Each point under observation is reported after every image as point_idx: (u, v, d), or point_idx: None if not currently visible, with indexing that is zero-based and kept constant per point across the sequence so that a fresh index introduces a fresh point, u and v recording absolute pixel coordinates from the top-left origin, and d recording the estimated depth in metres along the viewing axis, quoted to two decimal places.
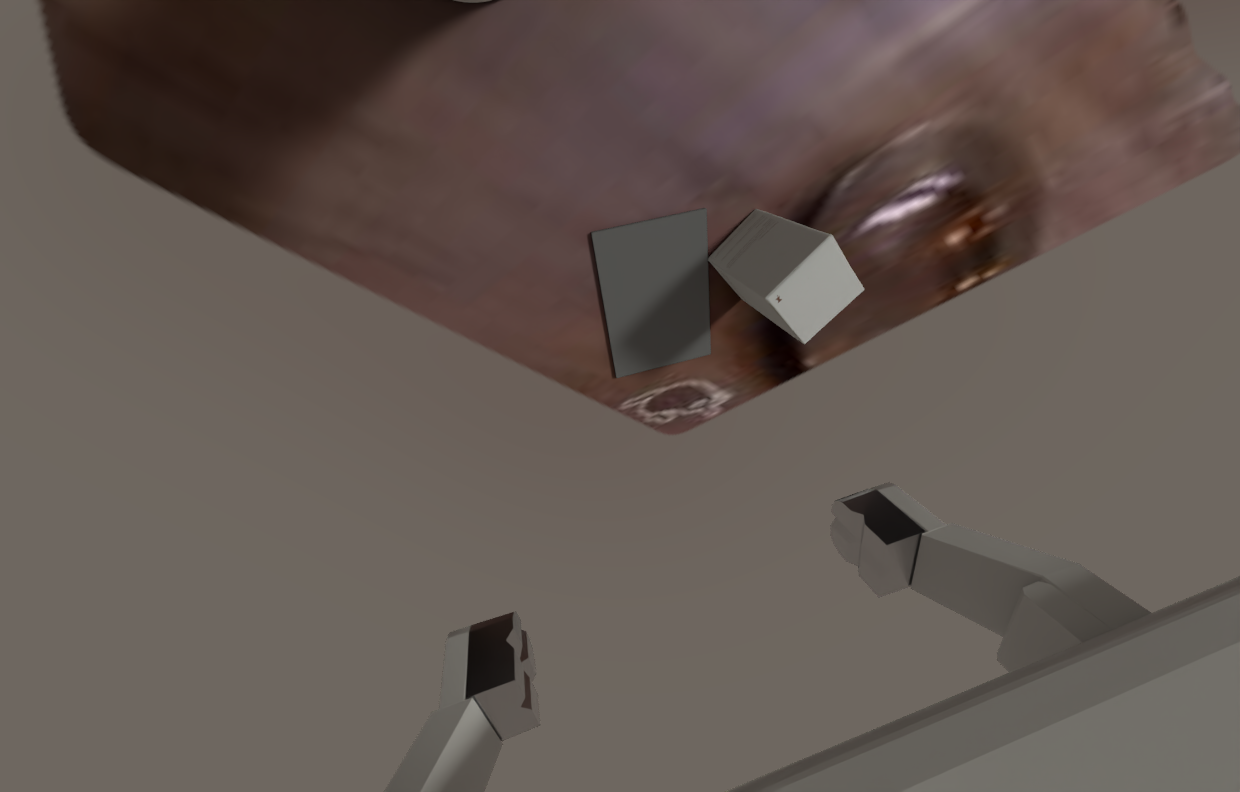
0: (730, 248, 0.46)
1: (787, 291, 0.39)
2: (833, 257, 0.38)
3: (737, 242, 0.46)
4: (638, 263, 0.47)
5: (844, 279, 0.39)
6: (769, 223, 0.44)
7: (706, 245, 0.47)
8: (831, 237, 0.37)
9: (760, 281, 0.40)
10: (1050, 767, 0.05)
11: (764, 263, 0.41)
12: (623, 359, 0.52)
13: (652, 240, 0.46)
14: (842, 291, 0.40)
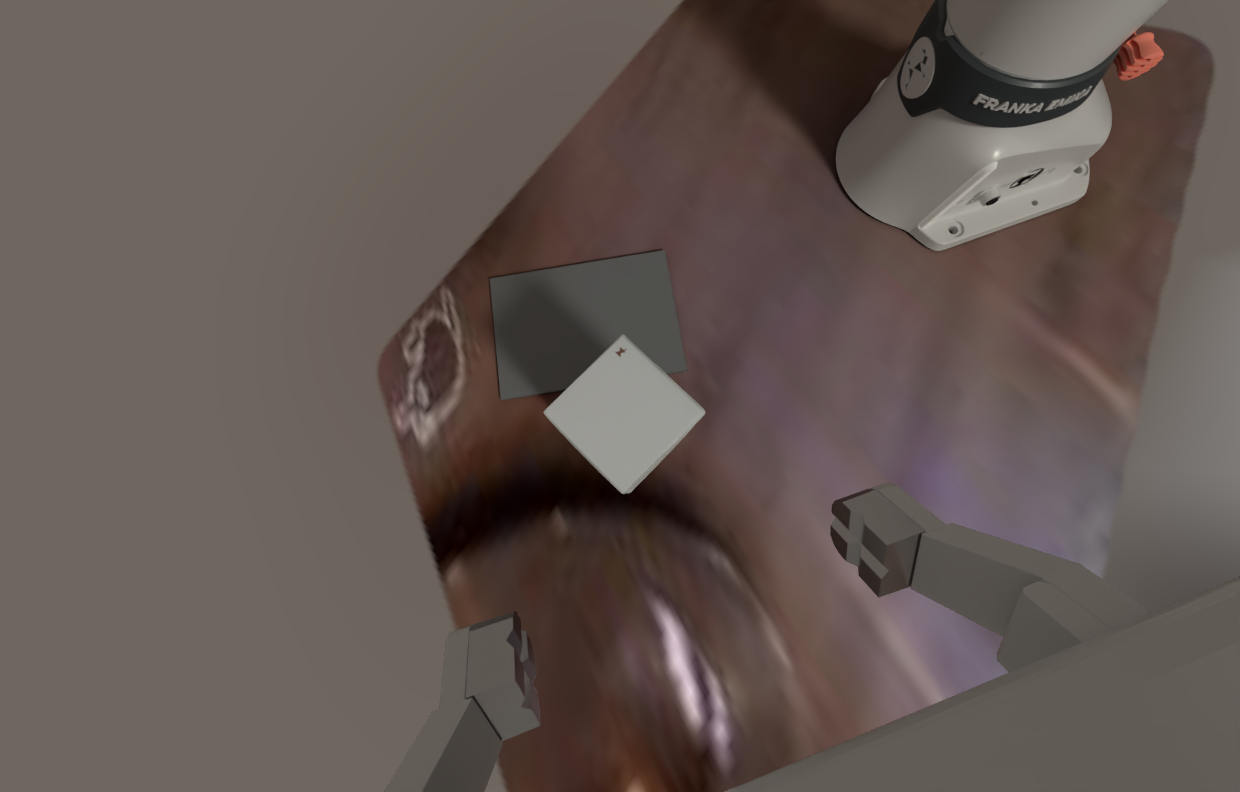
0: None
1: (631, 361, 0.28)
2: (675, 422, 0.27)
3: None
4: (629, 298, 0.42)
5: (642, 450, 0.27)
6: None
7: None
8: (702, 412, 0.27)
9: None
10: (1050, 767, 0.05)
11: None
12: (514, 285, 0.43)
13: (654, 312, 0.41)
14: (623, 452, 0.27)
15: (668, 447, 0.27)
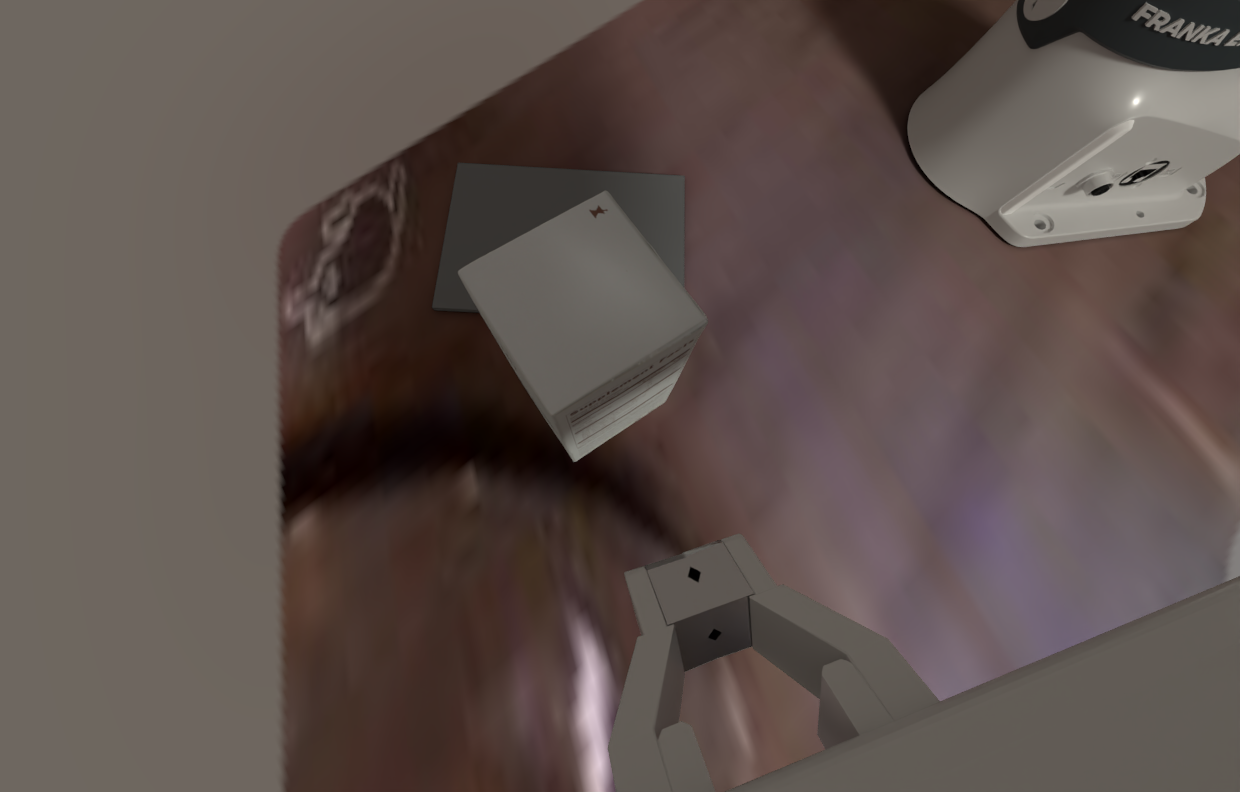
0: None
1: (610, 228, 0.18)
2: (658, 325, 0.17)
3: None
4: None
5: (597, 356, 0.17)
6: None
7: None
8: (703, 320, 0.17)
9: None
10: (1050, 767, 0.05)
11: None
12: (486, 176, 0.33)
13: (656, 243, 0.32)
14: (567, 353, 0.17)
15: (640, 360, 0.17)
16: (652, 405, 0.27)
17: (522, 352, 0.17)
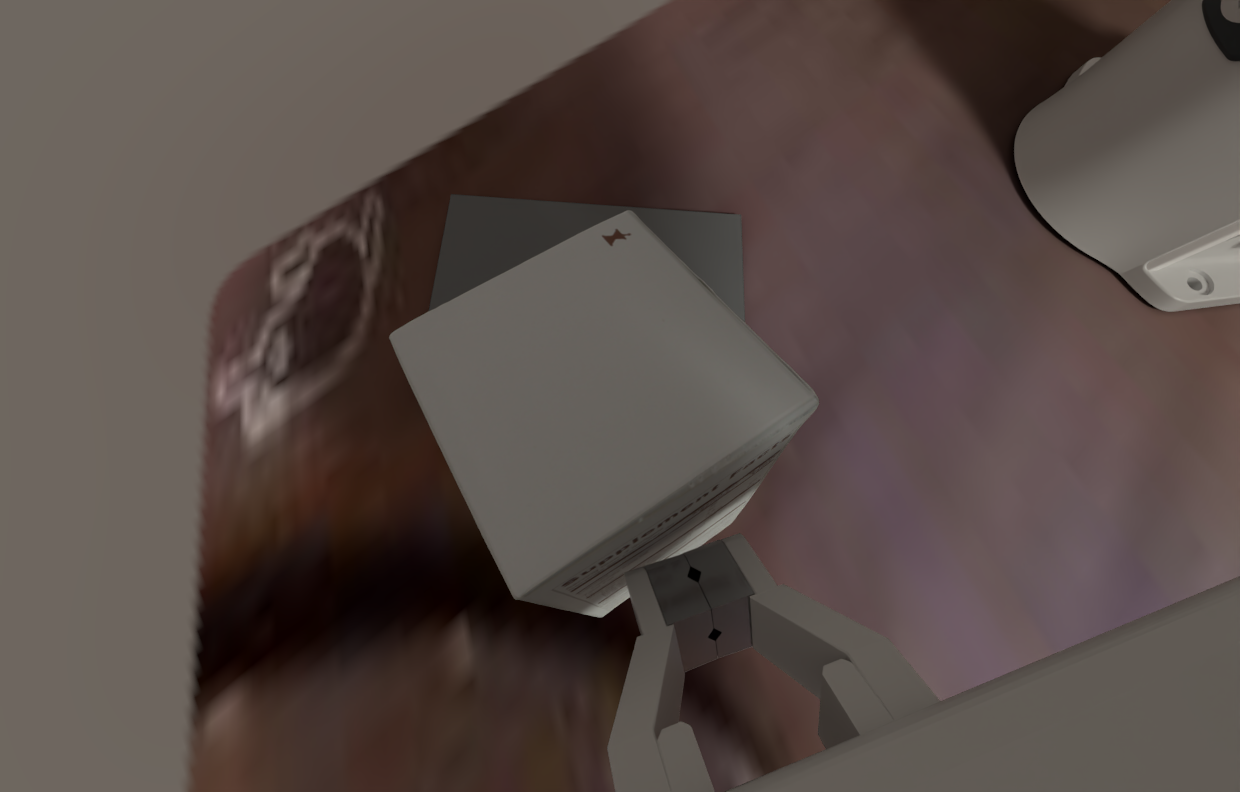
0: None
1: (635, 258, 0.11)
2: (725, 411, 0.09)
3: None
4: None
5: (611, 471, 0.09)
6: None
7: None
8: (810, 399, 0.09)
9: None
10: (1050, 767, 0.05)
11: None
12: (487, 213, 0.26)
13: None
14: (554, 468, 0.09)
15: (694, 479, 0.09)
16: (714, 531, 0.18)
17: (473, 467, 0.09)
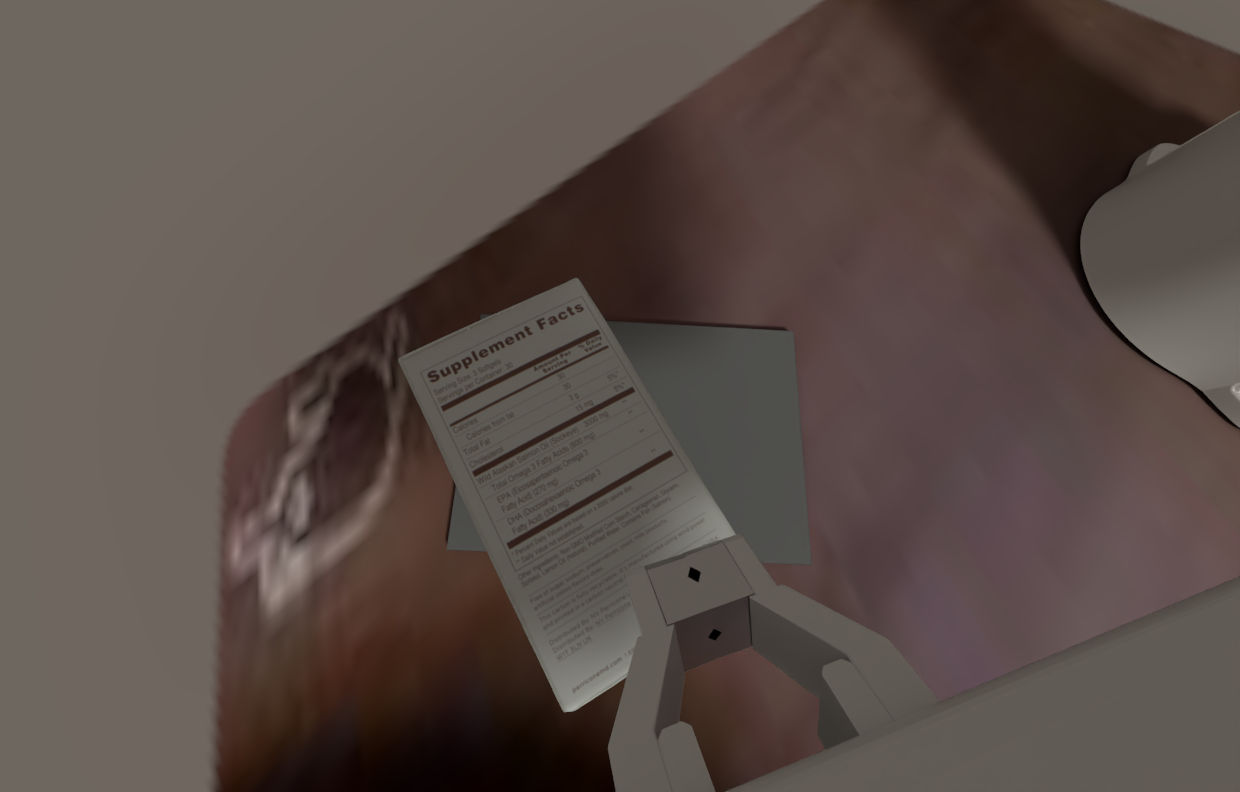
0: None
1: None
2: None
3: None
4: (721, 403, 0.23)
5: None
6: None
7: None
8: None
9: None
10: (1051, 767, 0.05)
11: None
12: None
13: (763, 438, 0.23)
14: None
15: (500, 312, 0.16)
16: (687, 537, 0.14)
17: None
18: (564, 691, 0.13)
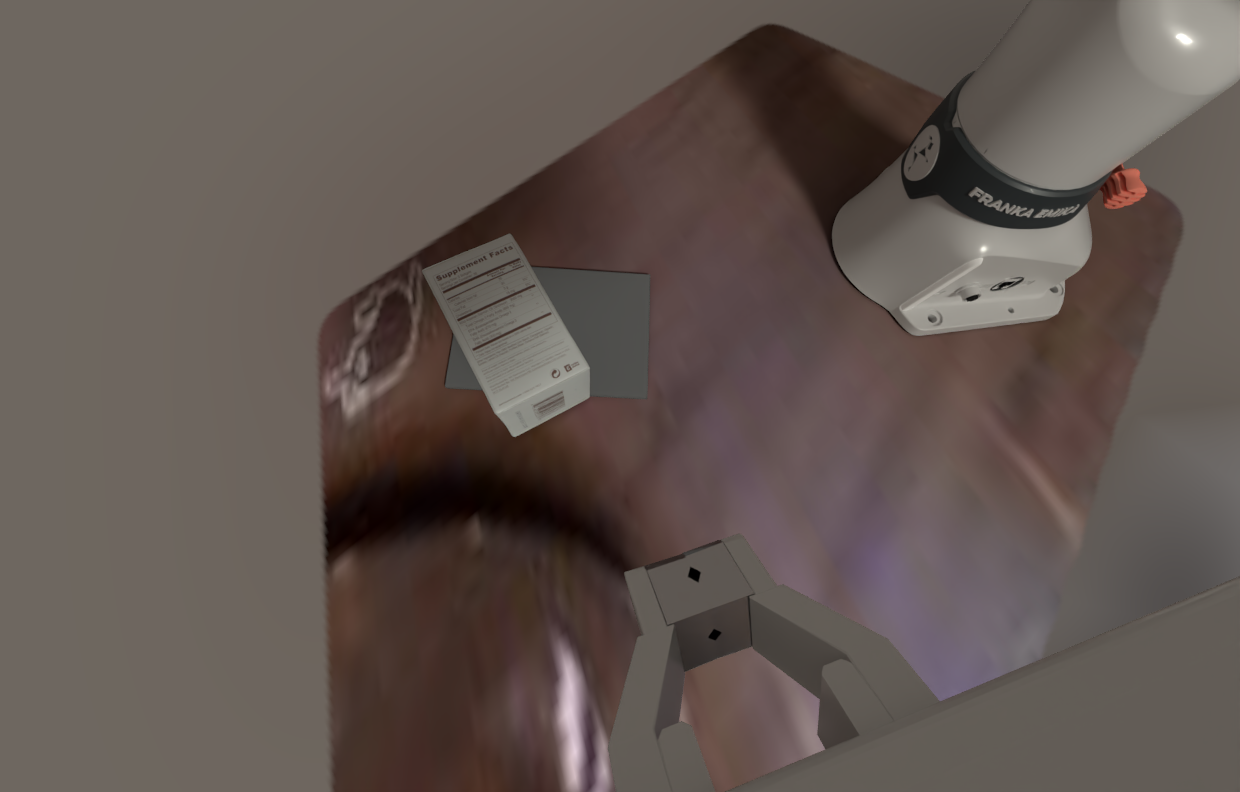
0: None
1: None
2: None
3: None
4: (604, 314, 0.40)
5: None
6: None
7: (603, 394, 0.38)
8: None
9: None
10: (1050, 767, 0.05)
11: None
12: None
13: (626, 332, 0.40)
14: None
15: (471, 249, 0.33)
16: (555, 348, 0.31)
17: None
18: (495, 405, 0.30)
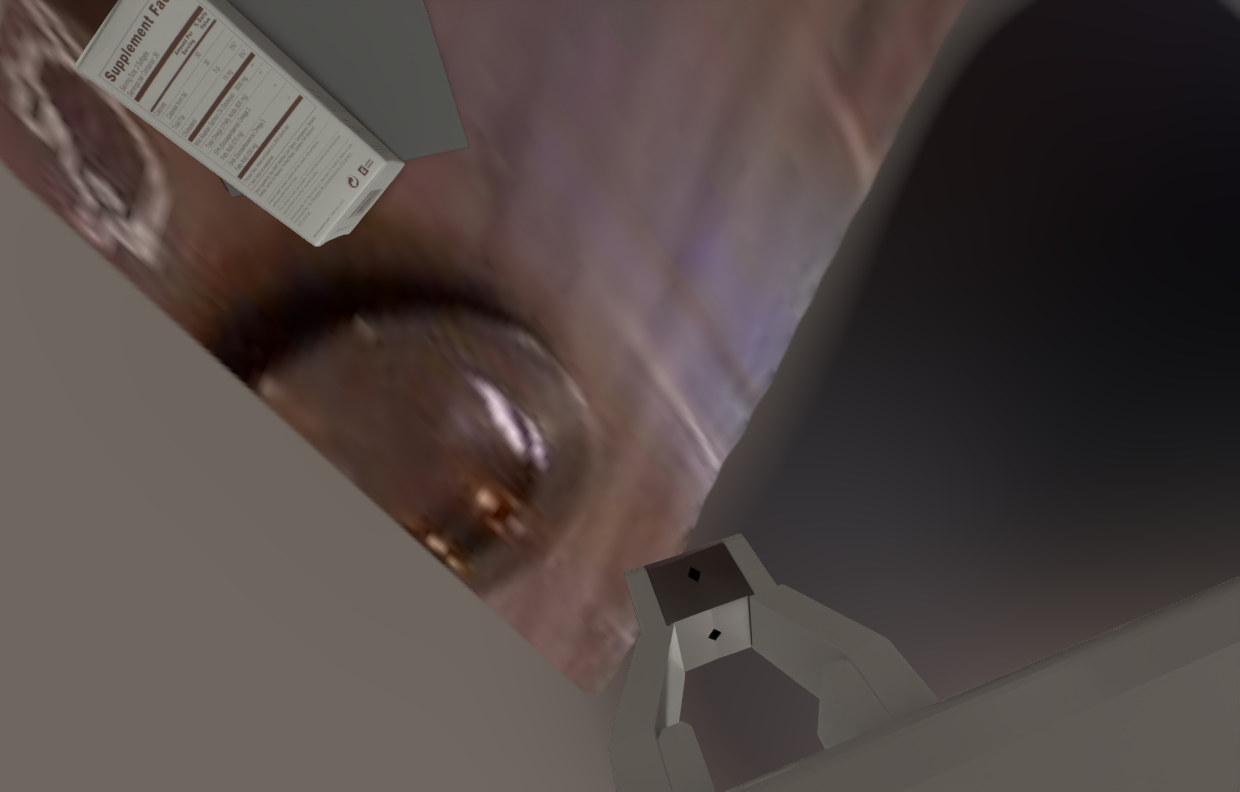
0: (371, 135, 0.31)
1: None
2: None
3: (364, 130, 0.30)
4: (368, 30, 0.30)
5: None
6: (325, 102, 0.26)
7: (419, 155, 0.34)
8: None
9: (257, 30, 0.28)
10: (1050, 767, 0.05)
11: (272, 45, 0.27)
12: None
13: (410, 56, 0.31)
14: None
15: (116, 5, 0.22)
16: (335, 148, 0.27)
17: None
18: (310, 238, 0.28)
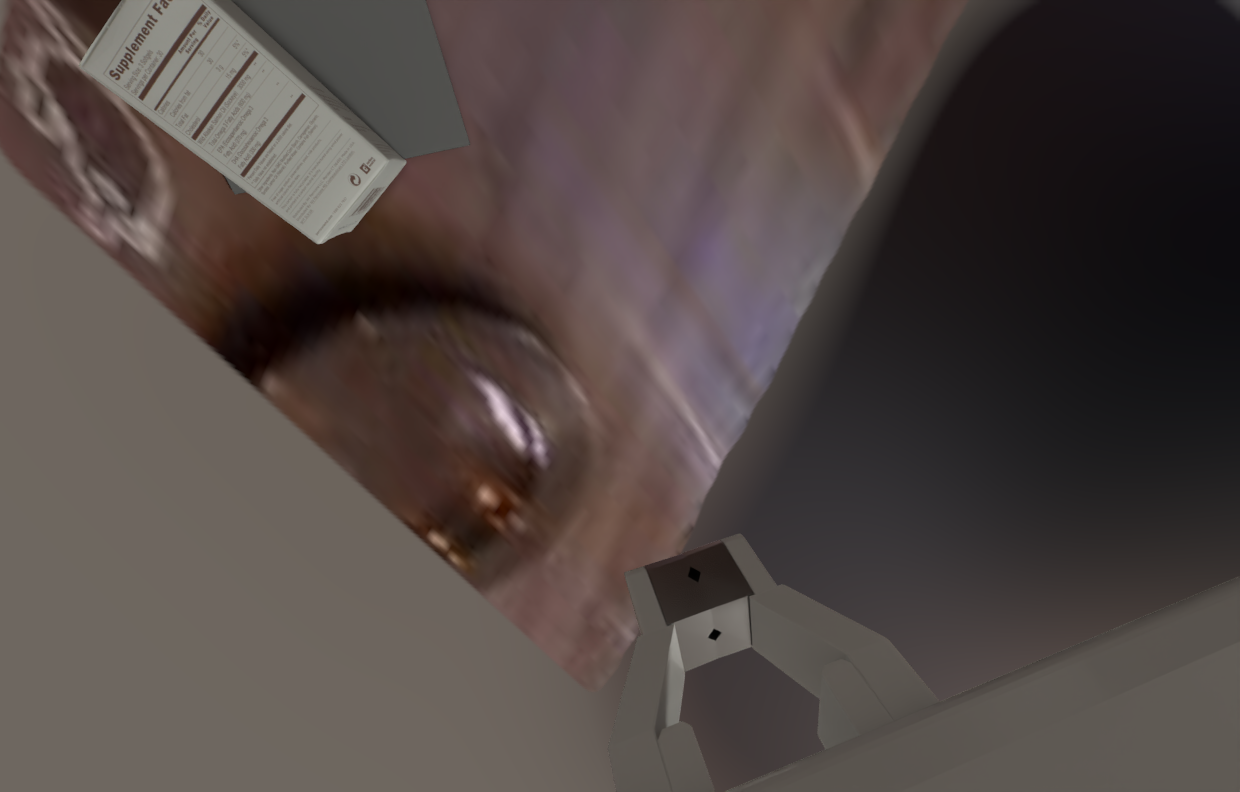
0: (373, 133, 0.31)
1: None
2: None
3: (366, 128, 0.30)
4: (370, 28, 0.30)
5: None
6: (327, 100, 0.26)
7: (420, 153, 0.34)
8: None
9: (260, 28, 0.28)
10: (1050, 767, 0.05)
11: (274, 43, 0.27)
12: None
13: (412, 54, 0.31)
14: None
15: (120, 4, 0.22)
16: (337, 146, 0.27)
17: None
18: (312, 235, 0.28)
